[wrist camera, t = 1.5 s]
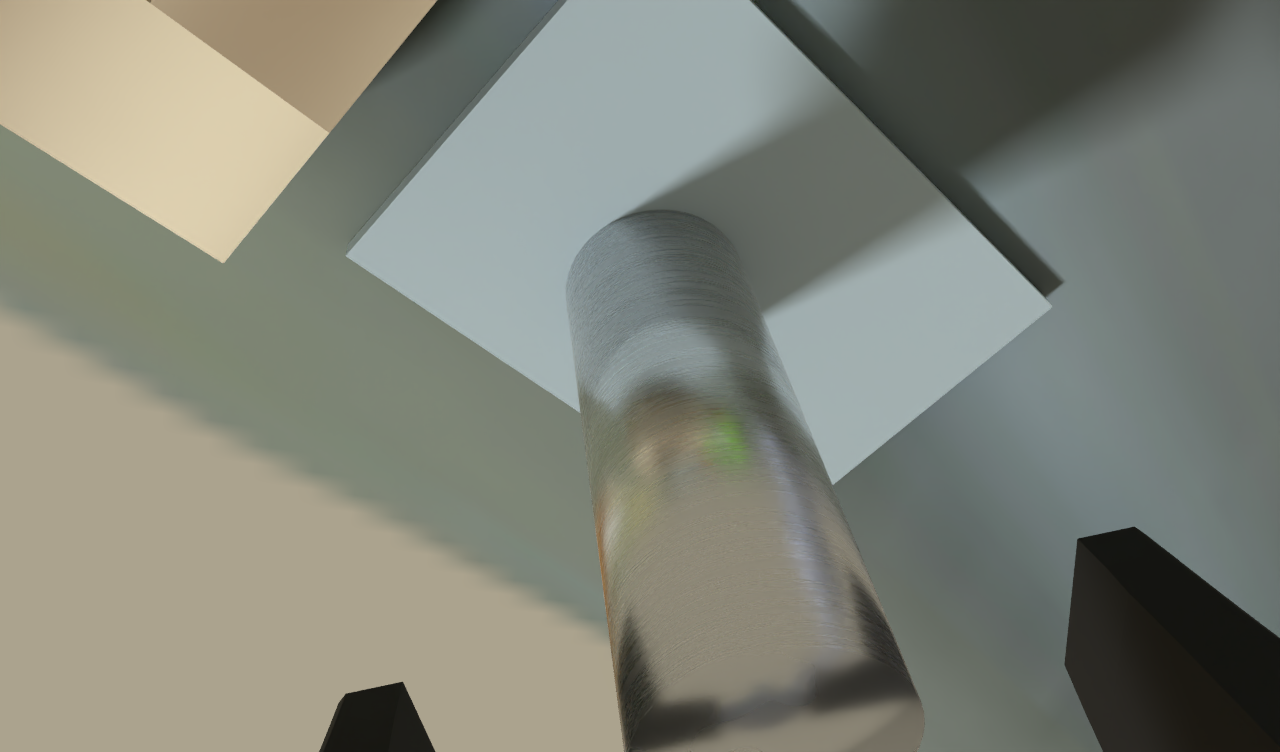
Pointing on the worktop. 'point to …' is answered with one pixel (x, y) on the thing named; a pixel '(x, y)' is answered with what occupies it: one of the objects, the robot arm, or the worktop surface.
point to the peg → (719, 514)
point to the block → (192, 95)
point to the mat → (701, 211)
